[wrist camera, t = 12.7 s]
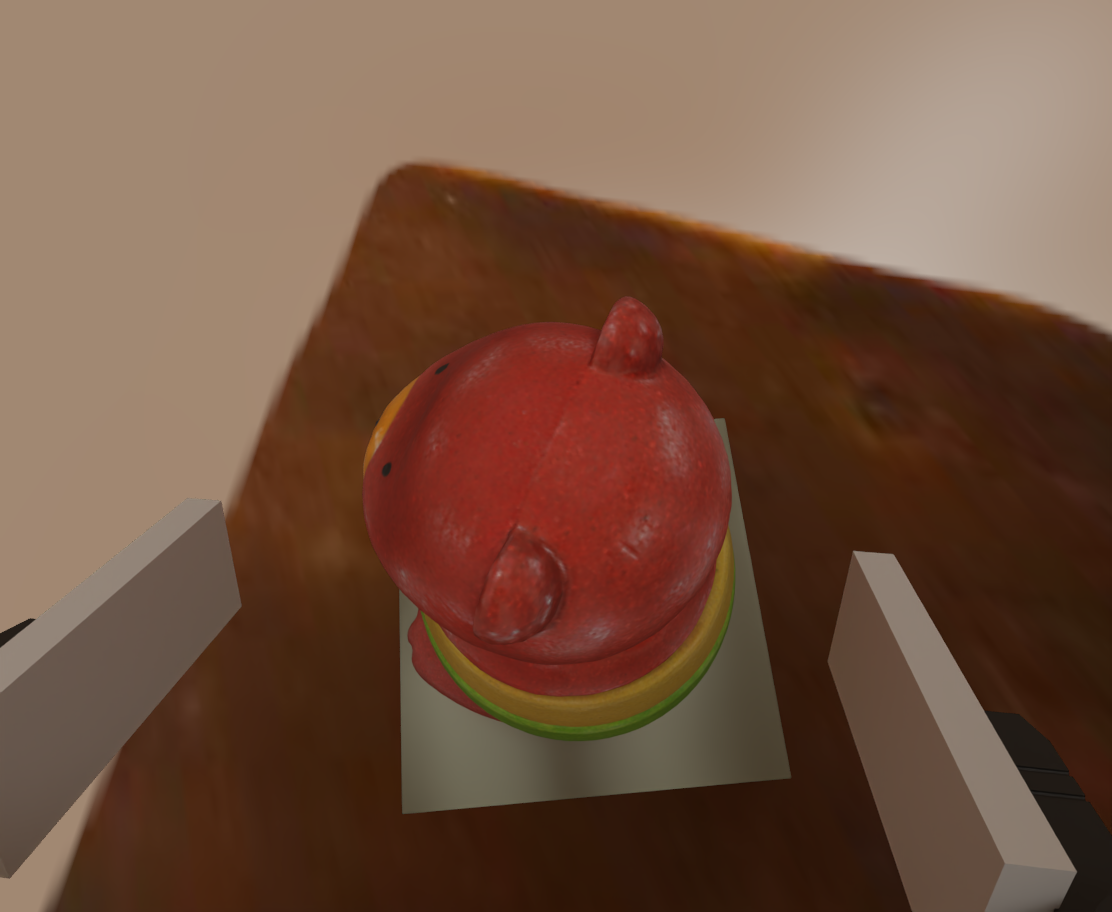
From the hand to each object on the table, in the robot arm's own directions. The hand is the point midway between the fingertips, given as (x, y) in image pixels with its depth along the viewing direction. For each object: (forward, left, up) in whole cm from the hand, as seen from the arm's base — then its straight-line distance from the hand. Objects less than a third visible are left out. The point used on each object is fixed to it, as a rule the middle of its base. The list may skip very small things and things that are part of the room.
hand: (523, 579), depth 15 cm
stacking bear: (-1, -2, -14) cm, 14 cm away
